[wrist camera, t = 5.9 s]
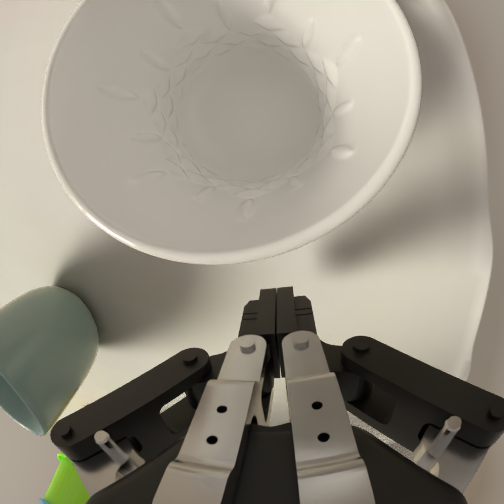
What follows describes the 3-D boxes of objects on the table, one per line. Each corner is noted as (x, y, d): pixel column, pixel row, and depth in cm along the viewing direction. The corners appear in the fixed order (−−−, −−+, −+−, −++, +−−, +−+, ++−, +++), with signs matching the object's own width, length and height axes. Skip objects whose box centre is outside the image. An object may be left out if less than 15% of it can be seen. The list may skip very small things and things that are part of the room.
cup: (33, 268, 18) (-50, 325, 8) (99, 276, 17) (1, 361, 8) (58, 343, 20) (-2, 410, 11) (122, 361, 20) (65, 452, 10)
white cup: (349, 166, 13) (468, 192, 4) (209, 214, 15) (110, 307, 6) (295, 35, 11) (312, -95, 2) (160, 87, 13) (27, 32, 3)
